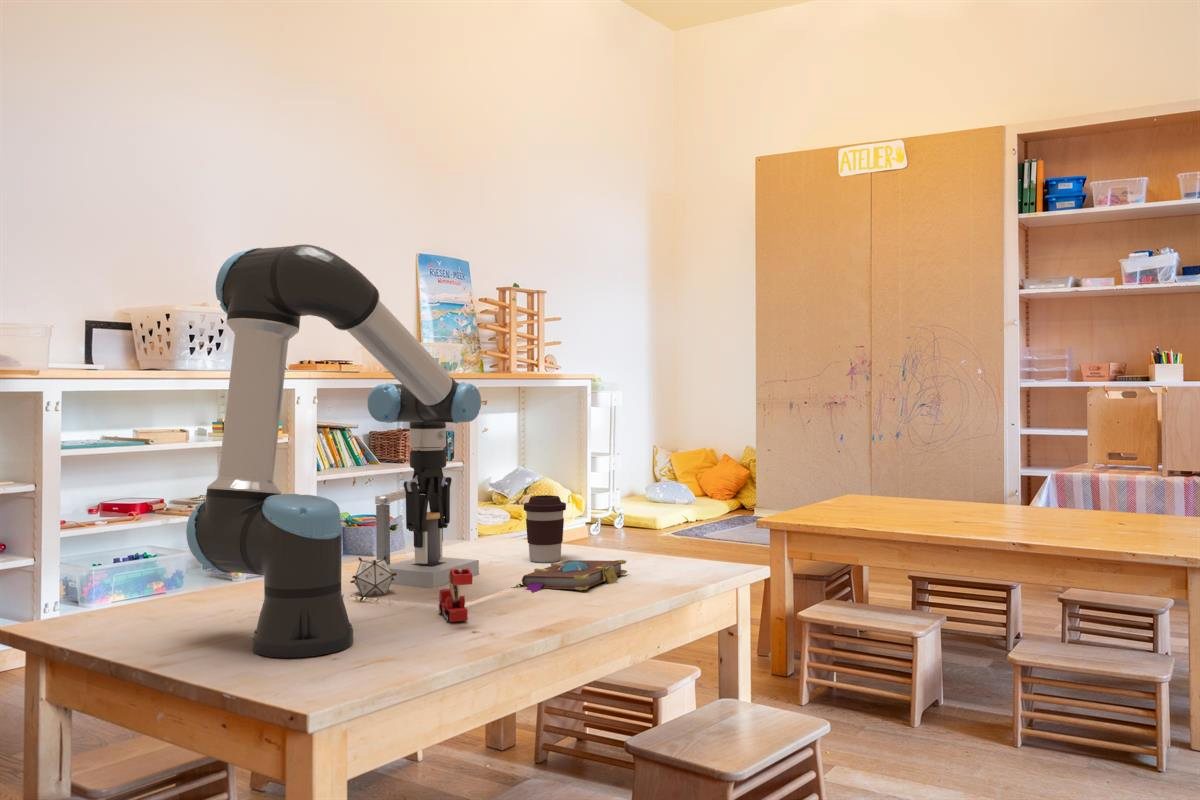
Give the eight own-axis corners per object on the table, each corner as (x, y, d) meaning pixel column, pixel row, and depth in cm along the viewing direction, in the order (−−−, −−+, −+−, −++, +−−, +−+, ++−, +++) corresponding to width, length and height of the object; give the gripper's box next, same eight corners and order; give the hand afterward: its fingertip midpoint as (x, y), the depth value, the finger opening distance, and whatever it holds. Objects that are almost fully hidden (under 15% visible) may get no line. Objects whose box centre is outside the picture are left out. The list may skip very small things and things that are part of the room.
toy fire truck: (455, 611, 180) (455, 557, 180) (473, 627, 167) (472, 570, 167) (437, 612, 179) (437, 559, 179) (453, 629, 166) (453, 572, 166)
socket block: (433, 592, 196) (433, 572, 196) (377, 586, 202) (377, 567, 202) (478, 578, 210) (478, 560, 210) (425, 573, 216) (425, 555, 216)
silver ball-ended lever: (413, 496, 225) (413, 489, 225) (387, 504, 210) (387, 497, 210) (399, 496, 226) (399, 489, 225) (372, 504, 210) (372, 497, 210)
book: (509, 597, 198) (508, 572, 198) (566, 576, 220) (565, 553, 220) (582, 599, 191) (581, 573, 191) (634, 577, 213) (632, 554, 213)
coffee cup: (570, 563, 229) (569, 498, 229) (527, 565, 227) (527, 499, 226) (561, 556, 239) (561, 493, 238) (521, 557, 236) (520, 495, 236)
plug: (431, 581, 203) (430, 515, 203) (412, 579, 205) (411, 514, 205) (445, 576, 207) (444, 512, 207) (427, 575, 209) (426, 511, 209)
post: (385, 581, 208) (384, 506, 208) (366, 579, 210) (365, 505, 210) (400, 577, 213) (399, 504, 213) (381, 575, 215) (381, 503, 215)
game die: (379, 619, 190) (382, 583, 184) (340, 602, 191) (342, 566, 185) (402, 589, 197) (406, 553, 191) (365, 572, 198) (367, 537, 192)
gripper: (416, 451, 196) (417, 569, 197) (467, 447, 212) (467, 556, 212) (386, 450, 200) (387, 566, 200) (438, 446, 215) (438, 553, 216)
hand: (428, 560), depth 206 cm, fingers open, 4 cm apart
